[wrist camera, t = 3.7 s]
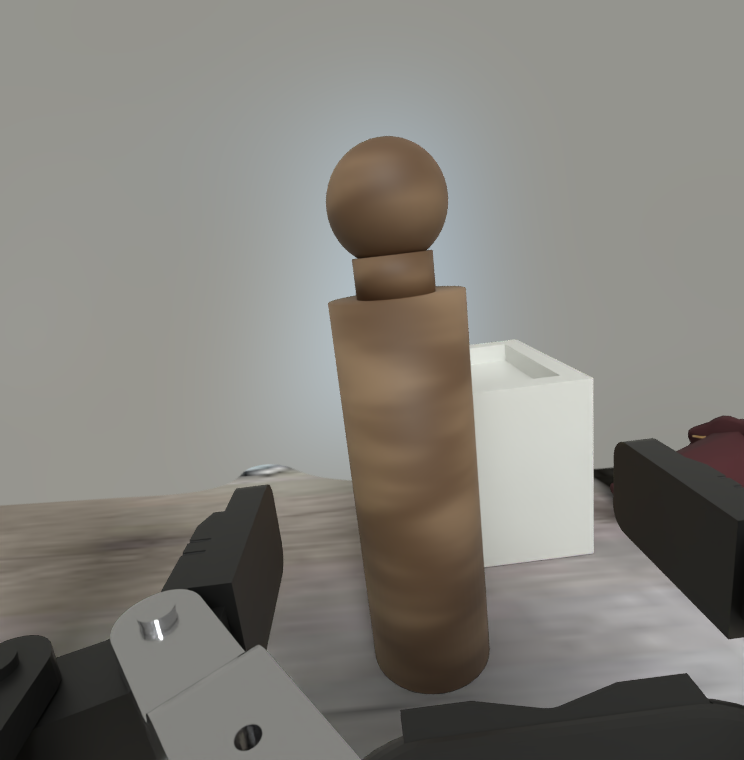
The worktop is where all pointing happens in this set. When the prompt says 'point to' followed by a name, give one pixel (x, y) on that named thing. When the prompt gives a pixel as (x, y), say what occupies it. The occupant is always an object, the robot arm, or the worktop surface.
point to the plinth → (532, 454)
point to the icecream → (718, 446)
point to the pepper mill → (409, 419)
